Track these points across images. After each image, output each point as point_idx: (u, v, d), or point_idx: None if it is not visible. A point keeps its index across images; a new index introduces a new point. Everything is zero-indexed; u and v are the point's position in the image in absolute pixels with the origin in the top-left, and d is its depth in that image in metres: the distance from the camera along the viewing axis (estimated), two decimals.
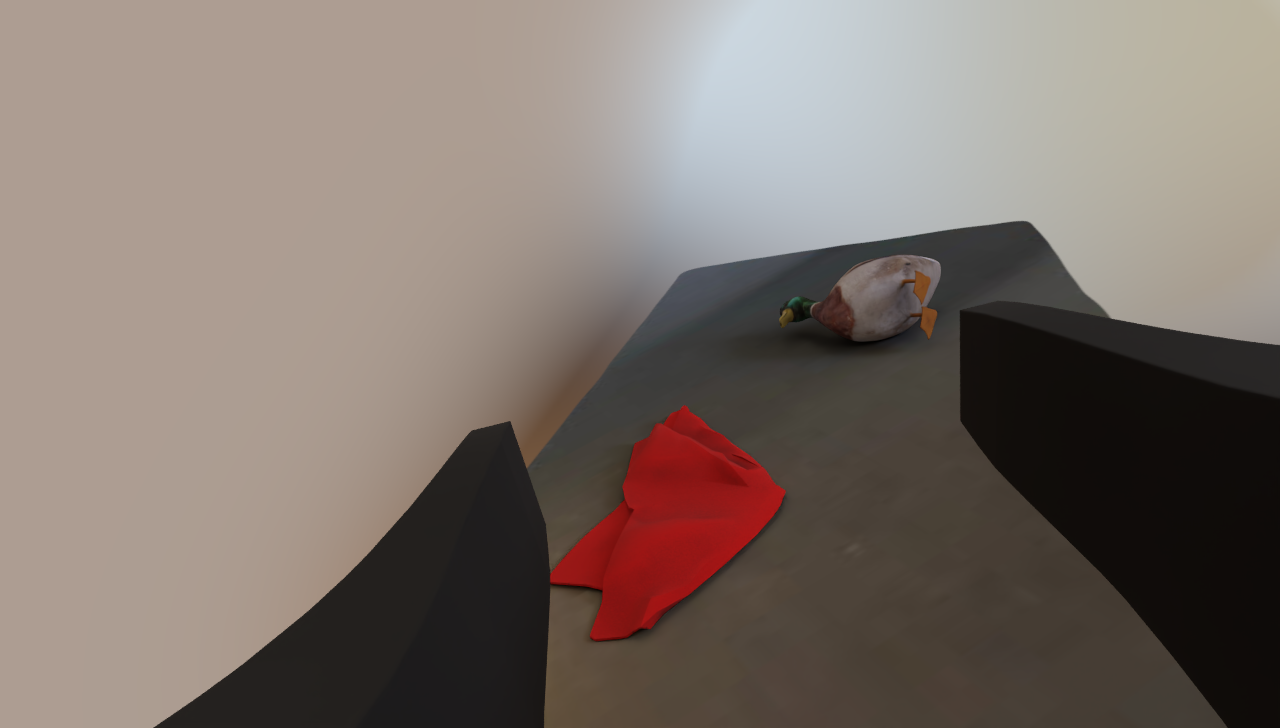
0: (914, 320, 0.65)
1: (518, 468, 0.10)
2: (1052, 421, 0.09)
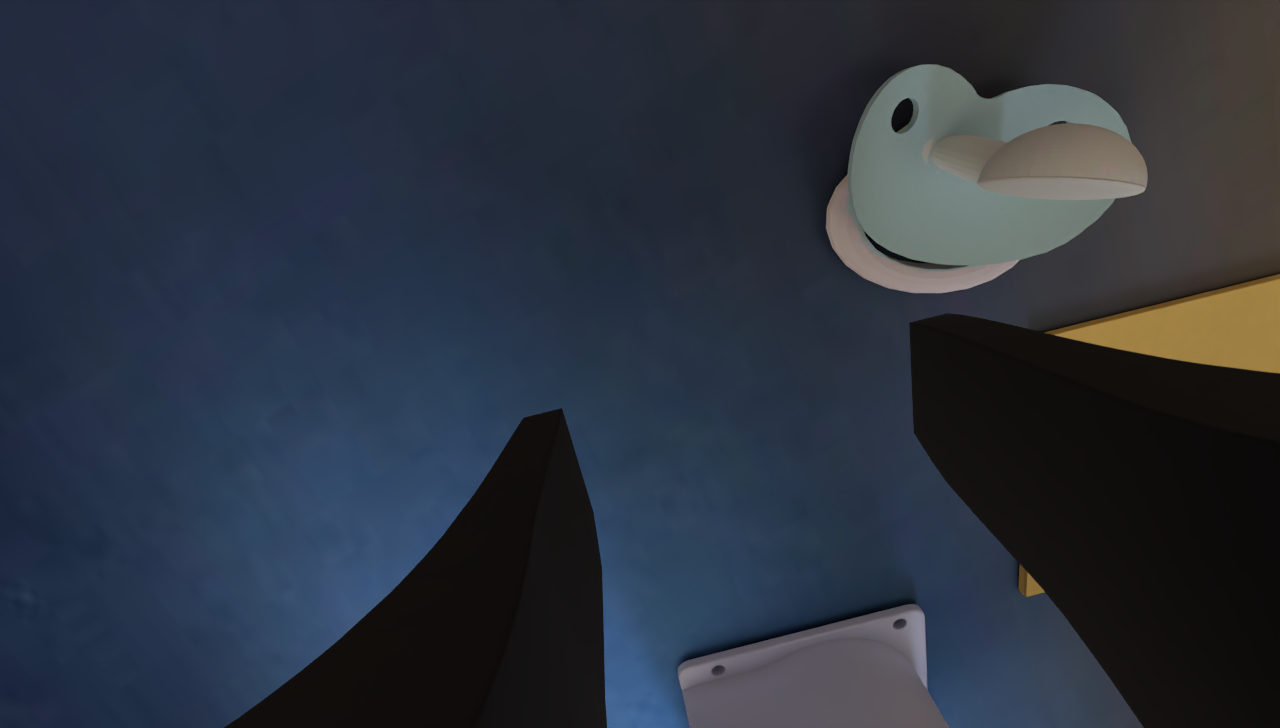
0: None
1: (571, 455, 0.10)
2: (993, 436, 0.09)
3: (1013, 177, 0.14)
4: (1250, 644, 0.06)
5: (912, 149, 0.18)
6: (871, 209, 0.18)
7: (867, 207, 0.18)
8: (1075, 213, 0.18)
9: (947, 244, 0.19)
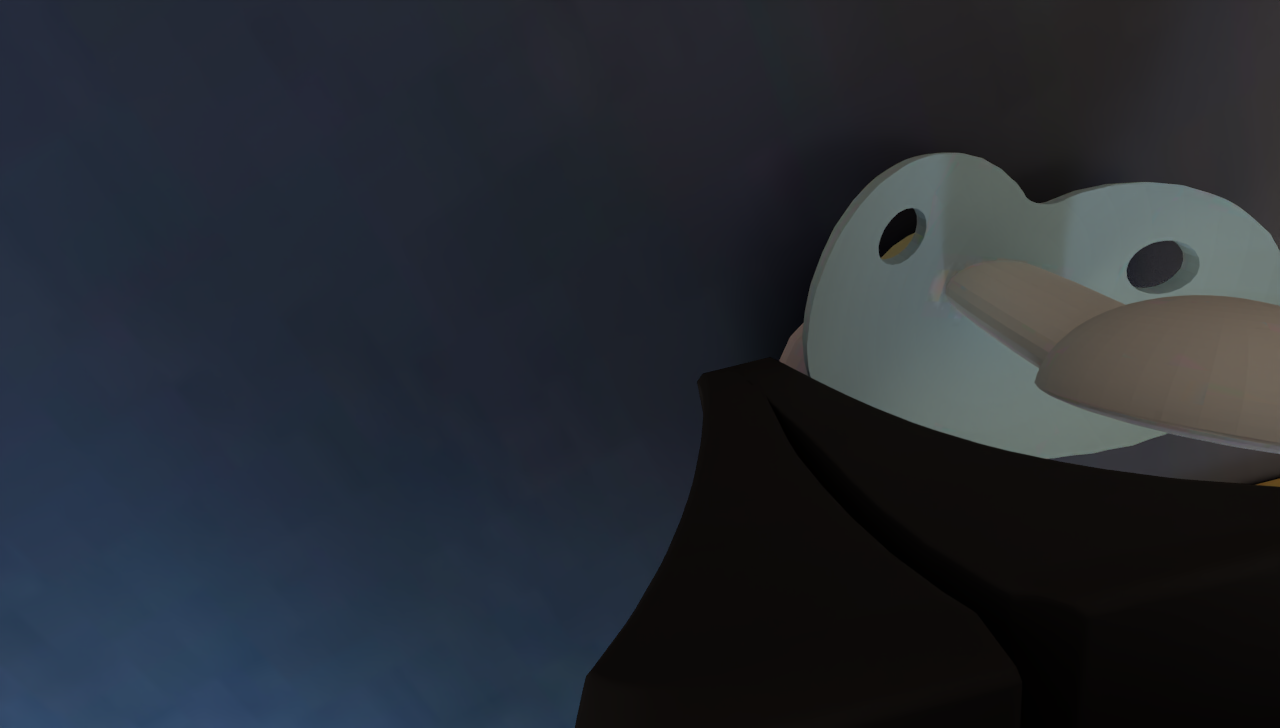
0: None
1: None
2: None
3: (1120, 409, 0.07)
4: None
5: (915, 286, 0.11)
6: (845, 387, 0.11)
7: (838, 385, 0.10)
8: None
9: (970, 427, 0.12)
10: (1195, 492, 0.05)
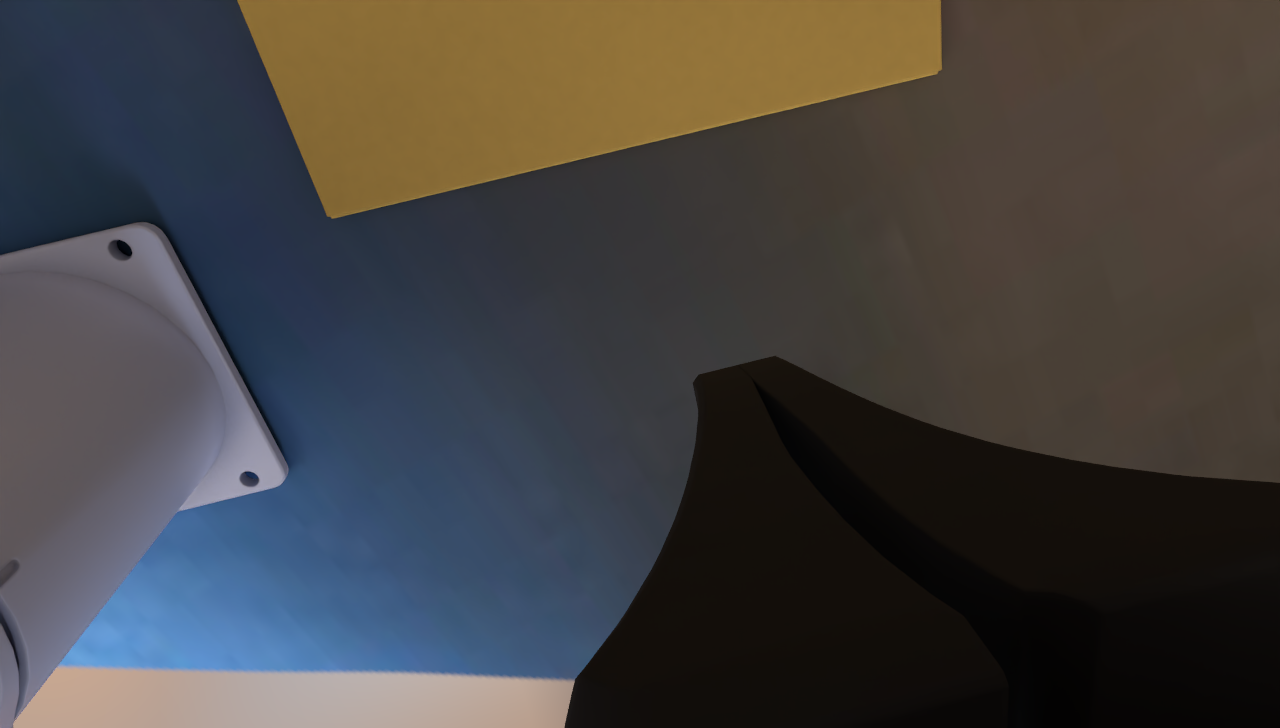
0: None
1: None
2: None
3: None
4: None
5: None
6: None
7: None
8: None
9: None
10: (1207, 490, 0.05)
